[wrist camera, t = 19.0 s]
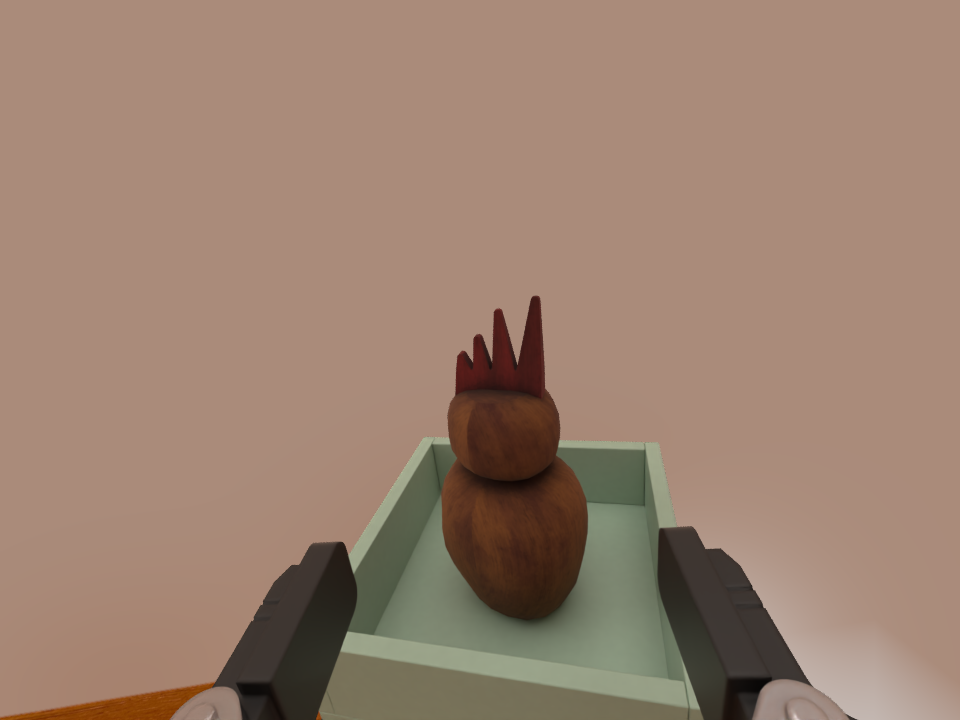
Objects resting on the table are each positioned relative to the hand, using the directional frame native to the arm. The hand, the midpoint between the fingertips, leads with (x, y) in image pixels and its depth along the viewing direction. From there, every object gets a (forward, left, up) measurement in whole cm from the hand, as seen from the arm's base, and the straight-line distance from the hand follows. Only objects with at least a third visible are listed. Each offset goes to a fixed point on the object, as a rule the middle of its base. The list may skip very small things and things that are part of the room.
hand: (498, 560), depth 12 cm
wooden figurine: (+1, -8, -10) cm, 13 cm away
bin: (+2, -8, -11) cm, 14 cm away
